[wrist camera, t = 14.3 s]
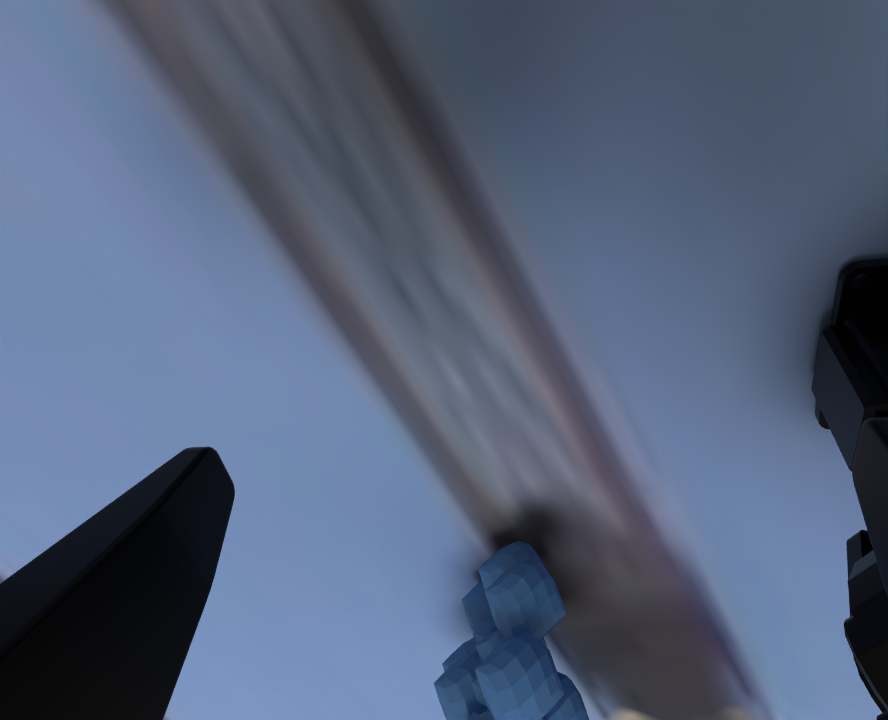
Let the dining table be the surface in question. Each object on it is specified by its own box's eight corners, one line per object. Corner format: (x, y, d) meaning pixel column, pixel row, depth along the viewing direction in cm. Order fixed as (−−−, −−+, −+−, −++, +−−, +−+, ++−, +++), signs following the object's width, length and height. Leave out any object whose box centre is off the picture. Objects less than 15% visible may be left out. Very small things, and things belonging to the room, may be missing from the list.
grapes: (545, 658, 36) (540, 946, 26) (425, 625, 36) (375, 903, 26) (635, 527, 29) (672, 855, 19) (486, 485, 29) (449, 796, 19)
